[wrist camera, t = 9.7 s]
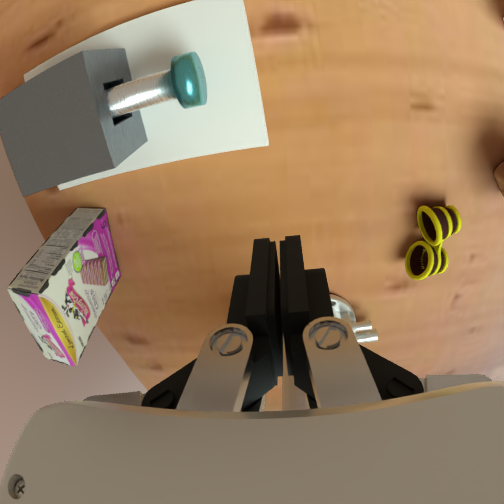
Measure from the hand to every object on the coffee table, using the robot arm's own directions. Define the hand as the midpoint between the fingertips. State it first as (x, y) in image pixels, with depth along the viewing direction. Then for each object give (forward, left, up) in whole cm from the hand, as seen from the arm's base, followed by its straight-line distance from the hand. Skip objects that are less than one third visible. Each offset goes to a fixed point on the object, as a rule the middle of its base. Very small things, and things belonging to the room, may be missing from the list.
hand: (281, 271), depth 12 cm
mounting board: (+14, -7, -22) cm, 27 cm away
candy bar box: (+25, +10, -22) cm, 35 cm away
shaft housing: (+19, -7, -21) cm, 29 cm away
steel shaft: (+16, -7, -19) cm, 26 cm away
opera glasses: (-18, +14, -22) cm, 32 cm away
